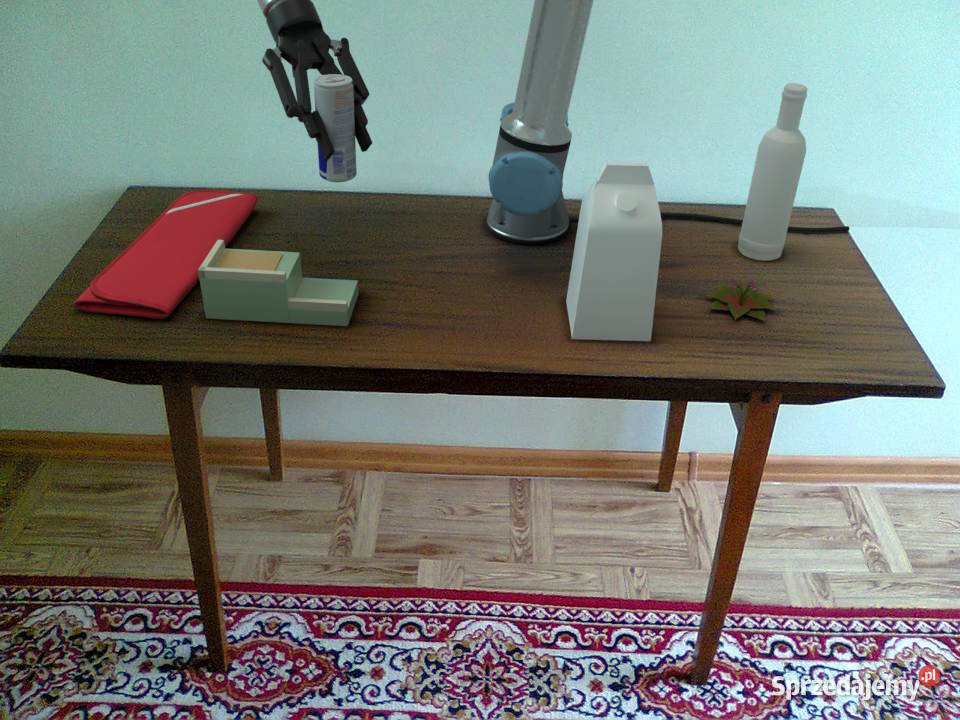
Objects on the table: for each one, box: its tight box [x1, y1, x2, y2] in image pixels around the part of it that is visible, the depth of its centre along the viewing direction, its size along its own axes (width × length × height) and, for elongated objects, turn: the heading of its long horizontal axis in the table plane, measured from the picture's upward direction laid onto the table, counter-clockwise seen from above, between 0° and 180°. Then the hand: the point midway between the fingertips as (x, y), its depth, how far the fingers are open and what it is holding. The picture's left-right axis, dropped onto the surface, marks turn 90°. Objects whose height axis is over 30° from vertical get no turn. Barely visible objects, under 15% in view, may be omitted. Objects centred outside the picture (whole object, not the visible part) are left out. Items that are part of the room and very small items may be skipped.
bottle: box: [737, 82, 808, 262], centre depth 157 cm, size 8×8×30 cm
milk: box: [565, 160, 663, 342], centre depth 137 cm, size 12×12×26 cm
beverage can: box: [313, 74, 358, 183], centre depth 135 cm, size 6×6×15 cm
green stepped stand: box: [198, 240, 360, 327], centre depth 142 cm, size 22×10×8 cm, turn 87°
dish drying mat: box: [73, 189, 259, 320], centre depth 156 cm, size 16×41×4 cm, turn 171°
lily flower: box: [705, 276, 778, 322], centre depth 148 cm, size 12×12×5 cm
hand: (348, 151), depth 134 cm, fingers closed on beverage can, 6 cm apart
